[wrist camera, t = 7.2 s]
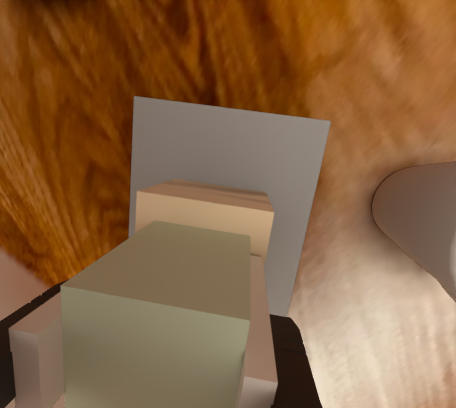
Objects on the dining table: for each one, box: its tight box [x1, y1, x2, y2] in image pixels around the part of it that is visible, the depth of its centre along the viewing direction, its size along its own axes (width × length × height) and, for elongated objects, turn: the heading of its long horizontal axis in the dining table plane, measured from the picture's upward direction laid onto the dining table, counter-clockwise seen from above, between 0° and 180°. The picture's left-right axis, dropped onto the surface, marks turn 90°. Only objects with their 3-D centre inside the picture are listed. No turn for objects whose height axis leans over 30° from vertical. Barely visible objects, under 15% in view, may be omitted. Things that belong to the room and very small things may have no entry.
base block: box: [135, 179, 274, 267], centre depth 15 cm, size 7×7×6 cm
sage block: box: [60, 221, 250, 408], centre depth 9 cm, size 5×5×6 cm
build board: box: [129, 96, 331, 317], centre depth 18 cm, size 16×14×1 cm
